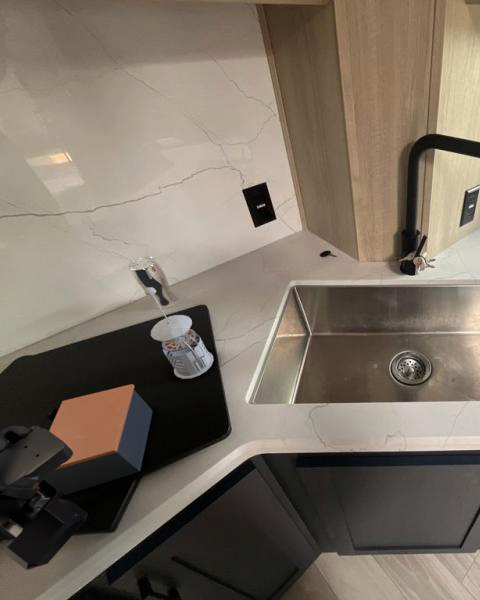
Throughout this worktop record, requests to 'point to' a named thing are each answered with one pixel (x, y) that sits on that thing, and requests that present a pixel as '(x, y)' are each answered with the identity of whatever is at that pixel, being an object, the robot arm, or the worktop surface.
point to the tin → (110, 455)
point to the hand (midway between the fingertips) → (58, 495)
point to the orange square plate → (92, 423)
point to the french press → (181, 344)
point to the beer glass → (153, 280)
